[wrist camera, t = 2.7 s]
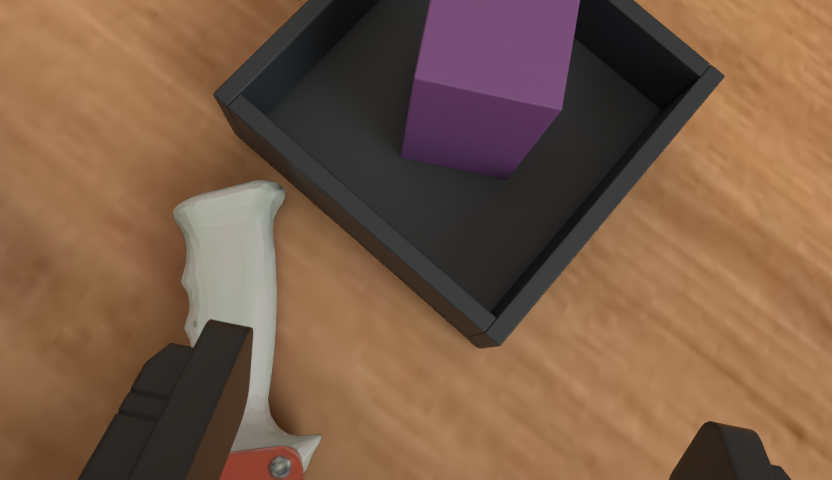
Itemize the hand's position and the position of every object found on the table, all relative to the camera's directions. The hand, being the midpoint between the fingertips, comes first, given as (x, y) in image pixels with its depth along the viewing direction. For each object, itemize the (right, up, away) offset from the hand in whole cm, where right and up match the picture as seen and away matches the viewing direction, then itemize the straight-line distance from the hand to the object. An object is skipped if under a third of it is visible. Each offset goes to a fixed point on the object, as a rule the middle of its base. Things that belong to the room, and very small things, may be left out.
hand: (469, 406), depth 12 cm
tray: (+1, +8, +17) cm, 19 cm away
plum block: (+1, +8, +17) cm, 18 cm away
